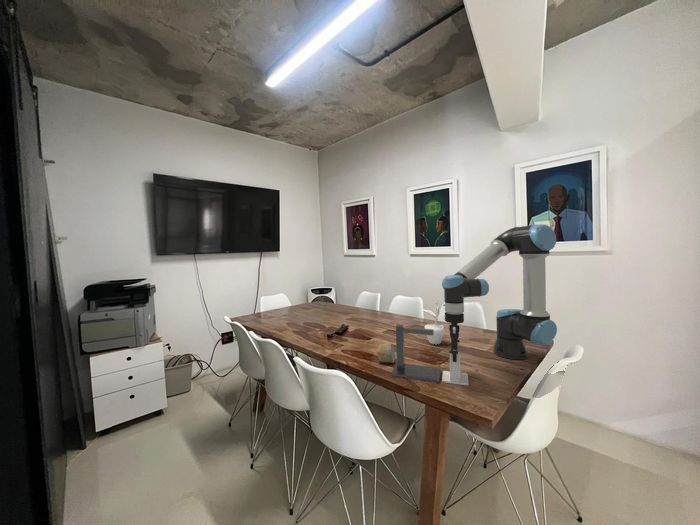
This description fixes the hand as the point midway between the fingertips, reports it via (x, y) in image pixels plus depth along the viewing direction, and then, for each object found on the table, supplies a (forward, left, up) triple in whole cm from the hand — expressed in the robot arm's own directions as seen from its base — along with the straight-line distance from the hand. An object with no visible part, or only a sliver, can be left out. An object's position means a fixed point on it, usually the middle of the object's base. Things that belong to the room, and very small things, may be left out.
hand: (454, 362), depth 115 cm
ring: (0, 0, -6) cm, 6 cm away
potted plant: (+12, -44, -7) cm, 46 cm away
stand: (+16, 0, -7) cm, 17 cm away
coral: (+32, -9, -7) cm, 34 cm away
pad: (0, 0, -7) cm, 7 cm away
